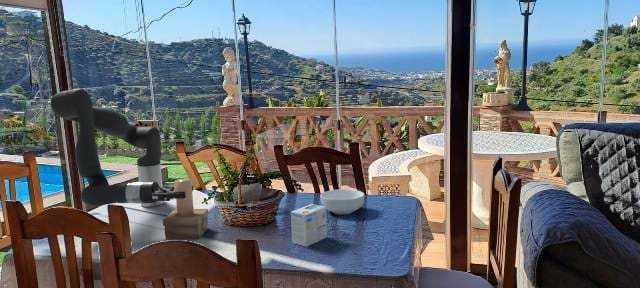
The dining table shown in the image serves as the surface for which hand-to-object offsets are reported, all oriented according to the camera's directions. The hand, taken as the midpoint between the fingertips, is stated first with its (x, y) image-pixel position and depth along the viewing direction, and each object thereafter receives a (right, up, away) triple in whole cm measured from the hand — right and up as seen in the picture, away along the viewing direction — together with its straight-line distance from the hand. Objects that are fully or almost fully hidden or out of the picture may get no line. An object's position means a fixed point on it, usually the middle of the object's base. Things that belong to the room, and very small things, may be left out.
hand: (189, 191), depth 165 cm
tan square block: (-1, -15, +2) cm, 15 cm away
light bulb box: (+41, -15, -7) cm, 45 cm away
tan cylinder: (-2, -8, +1) cm, 8 cm away
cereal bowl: (+54, -10, +23) cm, 59 cm away
